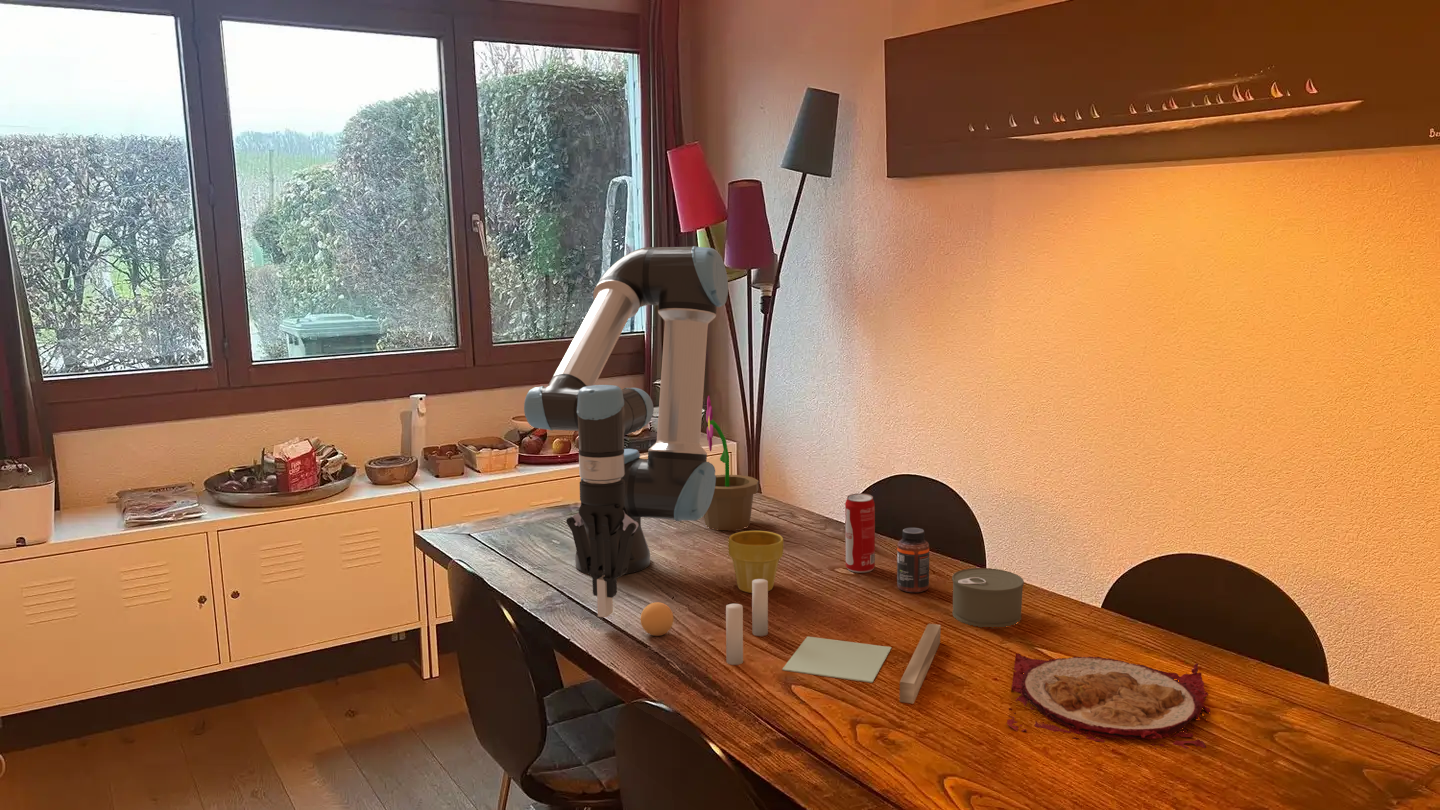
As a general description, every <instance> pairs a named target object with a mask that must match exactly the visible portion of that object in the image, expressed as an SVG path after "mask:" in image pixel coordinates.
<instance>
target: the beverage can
mask: <svg viewBox="0 0 1440 810" xmlns="http://www.w3.org/2000/svg"><path fill="white" fill-rule="evenodd" d="M875 505H876V504H875V500H874V496H873V495H871V494H869V493H861V492H860V493H851V494H849V495H847V496H846V500H845V505H844V506H845V507H844V508H845V513H844V515H845V516H844V517H845V524H844V525H845V567H846V568H847V570H848V571H849V572H853V573H862V574H863V573H870V572H871V571H873V570H874V569H875V566H876V562H875V561H876V553H875V552H876V549H875V547H876V540H875V538H876V532H875V531H876V530H875V529H876V521H875V520H876V514H875V513H876V509H875V508H876V507H875Z"/></svg>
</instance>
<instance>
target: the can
mask: <svg viewBox="0 0 1440 810" xmlns="http://www.w3.org/2000/svg"><path fill="white" fill-rule="evenodd" d="M951 579H952V617H954V619H955V618H956V620H957V622H960V623H962V624H964V623H965V625H967V624H968V626H971V625H973V626H972V627H976V626H978V628H982V627H992V628H991V629H994V628H993V627H1006V626H1011V625H1014V624H1016V623H1017V622H1019V621H1020V620H1021V621H1022V605H1023V586H1024V585H1025V584H1024V583H1025V582H1024V581H1025V580H1024V579H1023V578H1022V577H1021V576H1020V575H1018V574H1016V573H1013V572H1011V571H1007V570H1003V569H998V568H988V567H973V568H966V569H961V570H958V571H956V572H954V573H953V574H952V578H951ZM1021 621H1020V622H1021ZM1020 622H1019V623H1020ZM1016 625H1017V624H1016ZM1014 626H1015V625H1014ZM1011 627H1012V626H1011ZM1006 628H1007V627H1006Z"/></svg>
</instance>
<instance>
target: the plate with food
mask: <svg viewBox="0 0 1440 810" xmlns="http://www.w3.org/2000/svg"><path fill="white" fill-rule="evenodd" d="M1198 665H1199V663H1198V662H1197V663H1195V664H1193V668H1192V669H1191V673H1188V672H1185V673H1184V674H1182V675H1181V676H1180V675H1179V674H1178V673H1176V672H1167V671H1163V670H1158V669H1155V668H1152V667H1149V666H1146V665H1145V664H1135V663H1129V662H1126V661H1123V660H1119V659H1114V658H1113V659H1112V658H1109V657H1108V658H1105V657H1104V658H1103V657H1102V656H1101V657H1100V656H1087V657H1085V656H1083V657H1082V656H1073V657H1068V658H1066V657H1065V658H1064V657H1062V658H1059V657H1058V658H1056V659H1053V658H1052V659H1048V660H1044V659H1038V658H1037V659H1036V658H1031V657H1030V658H1029V657H1027V656H1022V655H1021V653H1015V658H1014V668H1013V670H1014V671H1013V676H1012V684H1011V690H1010V692H1011V693H1012V692H1015V693H1018V694H1021V695H1020V696H1019V695H1018V697H1017V698H1016V699H1015V700H1014V701H1015V702H1016V703H1018V701H1019V702H1021V703H1022V704H1023V706H1025V707H1027V708H1028V705H1027V704H1031V706H1030V711H1034V709H1035V708H1036V709H1037V710H1038V712H1040V713H1041V714H1042V715H1043V716H1045V717H1047V718H1046V719H1048V720H1050V721H1051V722H1055V723H1057V724H1060V725H1062V726H1065V727H1067V728H1069V730H1067V729H1063V728H1060V727H1059V726H1056V725H1054V724H1052V723H1050V722H1047V723H1045V722H1037V720H1036V721H1034V727H1036V728H1041V729H1046V730H1049V731H1051V732H1054V733H1056V732H1063V733H1067V734H1070V733H1073V734H1075V735H1083V737H1085V738H1086V739H1087V740H1091V741H1095V742H1096V743H1097V742H1100V743H1105V741H1106V740H1105V739H1109V738H1110V739H1109V740H1111V741H1112V740H1113V739H1116V738H1117V739H1120V738H1122V739H1131V740H1132V739H1144V740H1145V739H1146V740H1157V739H1161V740H1162V739H1163V738H1164V737H1165V738H1170V736H1171V737H1172V738H1177V737H1180V736H1181V737H1182V738H1183V737H1185V738H1189V737H1192V738H1193V736H1194V733H1192V732H1187V730H1188V729H1185V728H1184V726H1185V727H1186V726H1187V724H1189V723H1190V722H1191V720H1195V719H1198V717H1200V715H1201V714H1200V713H1203V712H1202V711H1204V710H1205V711H1206V712H1208V713H1209V712H1210V713H1211V708H1210V707H1207V706H1206V705H1205V702H1206V698H1207V696H1209V693H1208V691H1205V686H1204V681H1203V677H1202V672H1201V671H1200V672H1198V671H1199V668H1198V667H1199V666H1198ZM1023 673H1024V674H1023ZM1174 679H1177V680H1174ZM1178 680H1179V682H1178ZM1204 697H1205V698H1204ZM1034 707H1035V708H1034ZM1202 708H1203V709H1204V710H1202ZM1008 710H1009V711H1012V710H1013V708H1008ZM1205 711H1204V712H1205ZM1206 712H1205V713H1206ZM1013 714H1014V715H1016V714H1017V713H1016V712H1013ZM1032 715H1035V713H1033V714H1032ZM1008 716H1009V717H1011V719H1007V722H1006V724H1007V725H1008V727H1010V728H1012V729H1013V730H1015V731H1016V732H1018V730H1019V726H1018V725H1013V724H1017V723H1018V721H1015V716H1012V715H1010V714H1008ZM1194 718H1195V719H1194ZM1188 722H1189V723H1188ZM1019 725H1020V727H1023V726H1022V724H1019ZM1191 725H1192V726H1193V725H1194V724H1193V723H1192V724H1191ZM1182 728H1184V729H1182ZM1192 728H1194V726H1193V727H1191V729H1192ZM1180 729H1182V730H1180ZM1177 731H1178V732H1177ZM1181 731H1182V732H1181ZM1183 731H1184V732H1183ZM1021 732H1025V733H1026V732H1028V730H1027V728H1025V729H1022V730H1021ZM1175 732H1176V733H1175ZM1173 733H1175V734H1173ZM1177 733H1178V734H1177ZM1170 734H1171V735H1170ZM1097 736H1098V738H1097ZM1176 736H1177V737H1176ZM1099 738H1100V739H1099ZM1111 738H1113V739H1111ZM1072 739H1078V740H1080V737H1079V738H1077V737H1075V736H1074V737H1072ZM1200 740H1201V739H1199V738H1197V739H1196V740H1188V741H1187V740H1175V741H1174V742H1173V743H1172V745H1174V746H1180V747H1182V748H1183V749H1185V750H1186V749H1187V750H1188V749H1190V747H1189V746H1187V745H1184V744H1193V745H1195V747H1196V748H1197V747H1201V748H1203V749H1206V748H1207V746H1206V744H1205V743H1204V741H1200ZM1095 742H1094V743H1095ZM1134 743H1135V741H1134ZM1151 745H1152V746H1155V744H1154V743H1151ZM1159 746H1161V747H1165V744H1163V743H1159ZM1154 750H1158V748H1156V747H1154Z"/></svg>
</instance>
